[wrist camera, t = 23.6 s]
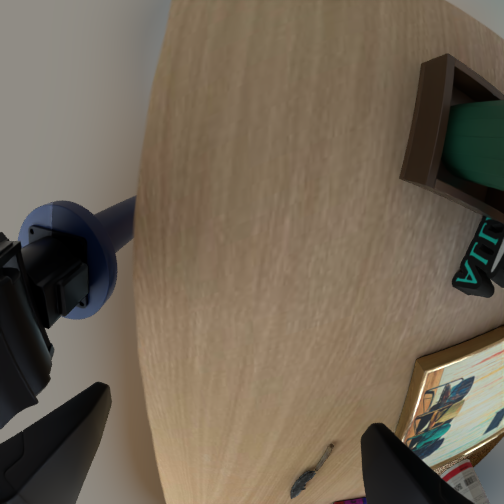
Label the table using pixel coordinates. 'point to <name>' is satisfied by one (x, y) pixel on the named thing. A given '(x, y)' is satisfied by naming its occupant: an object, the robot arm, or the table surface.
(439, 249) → the table surface
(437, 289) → the table surface
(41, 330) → the robot arm
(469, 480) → the spray bottle
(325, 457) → the stick
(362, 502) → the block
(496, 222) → the decorative sign
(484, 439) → the picture frame
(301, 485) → the folding knife
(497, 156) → the stoneware bottle
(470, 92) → the brown wooden square tray
